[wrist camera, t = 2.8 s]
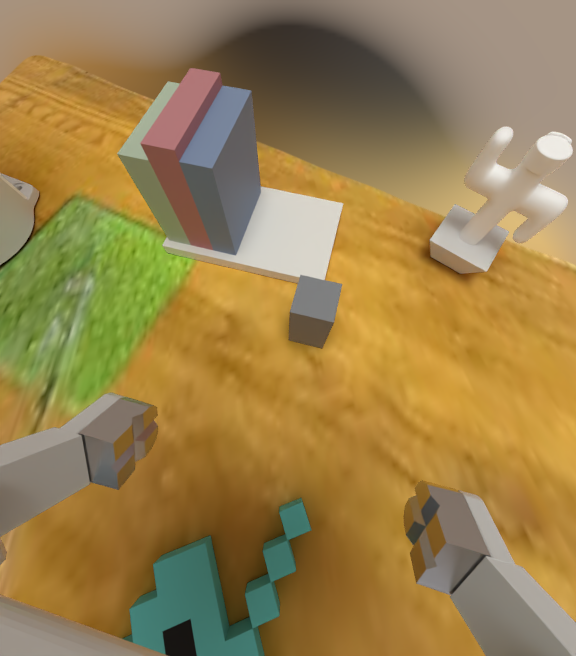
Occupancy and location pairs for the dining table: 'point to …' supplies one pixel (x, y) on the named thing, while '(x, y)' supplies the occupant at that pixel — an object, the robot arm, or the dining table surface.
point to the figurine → (502, 202)
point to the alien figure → (212, 598)
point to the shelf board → (280, 238)
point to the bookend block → (313, 310)
